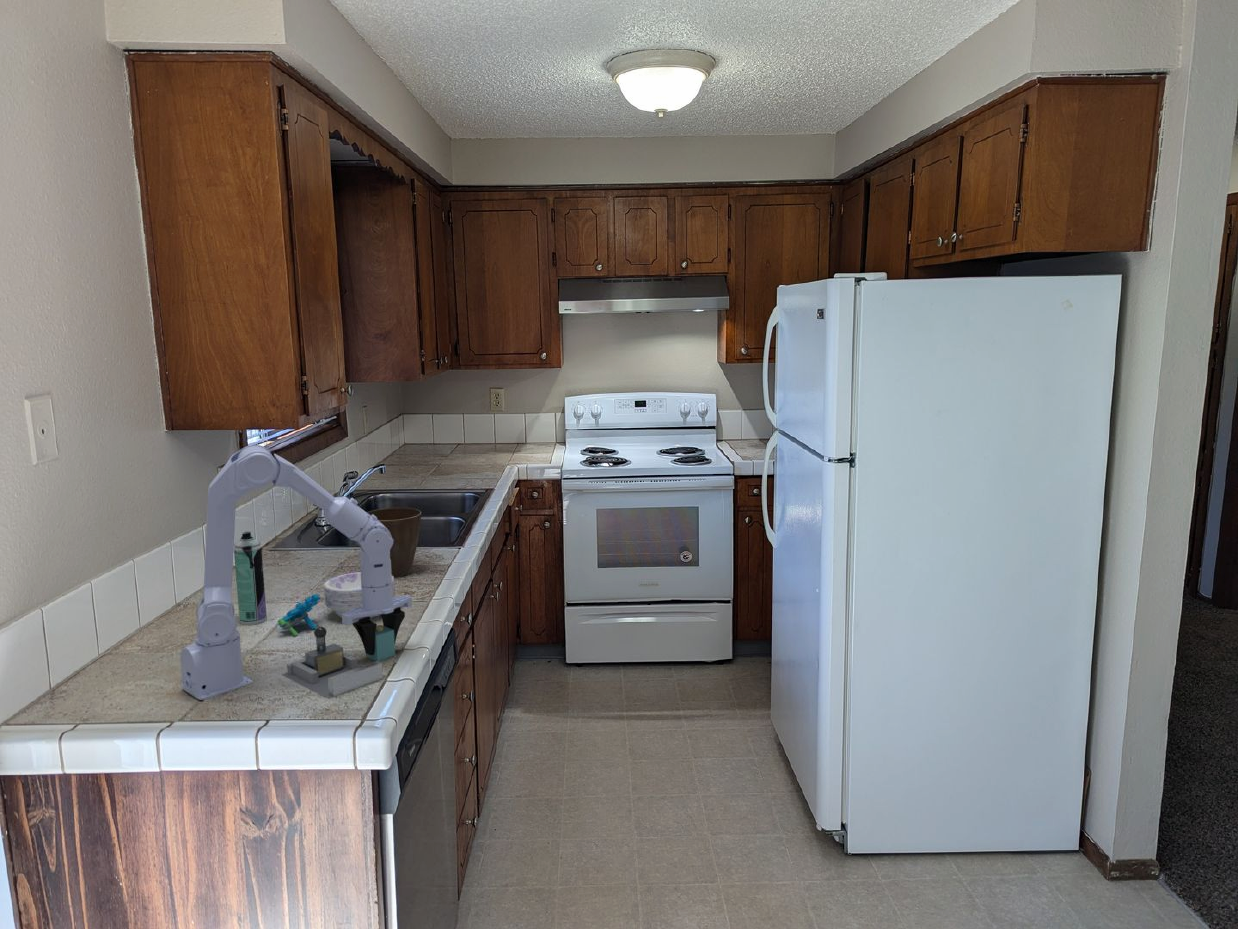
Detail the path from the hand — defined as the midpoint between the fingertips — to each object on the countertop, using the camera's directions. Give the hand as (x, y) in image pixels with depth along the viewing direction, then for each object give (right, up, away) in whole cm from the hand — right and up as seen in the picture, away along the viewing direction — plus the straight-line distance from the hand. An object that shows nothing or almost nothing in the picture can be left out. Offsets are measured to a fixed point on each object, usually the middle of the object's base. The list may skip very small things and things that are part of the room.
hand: (380, 650), depth 165 cm
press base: (-6, -3, -9) cm, 11 cm away
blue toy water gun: (-22, +1, +16) cm, 27 cm away
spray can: (-34, +2, +21) cm, 39 cm away
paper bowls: (-11, +3, +25) cm, 28 cm away
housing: (0, -1, 0) cm, 1 cm away
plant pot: (-12, +8, +55) cm, 57 cm away
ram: (-8, -2, -7) cm, 11 cm away
